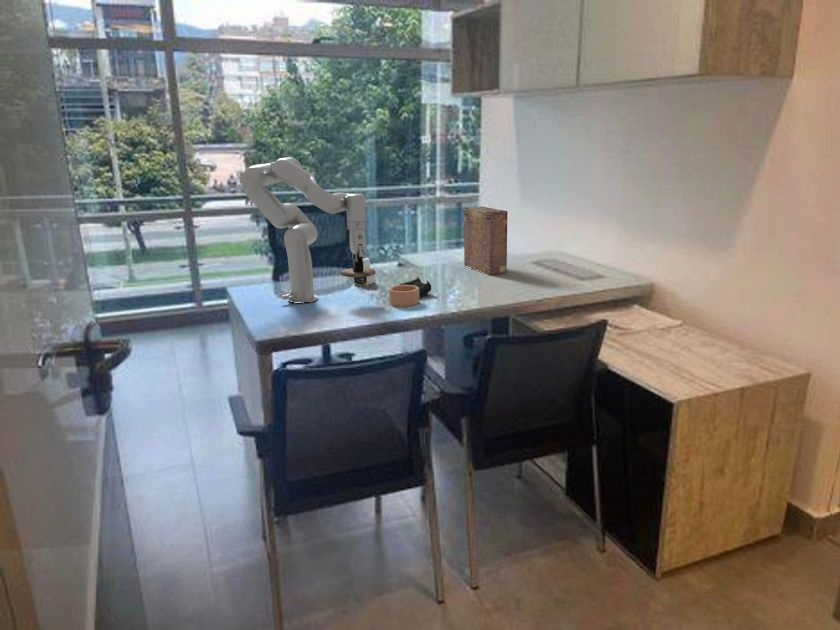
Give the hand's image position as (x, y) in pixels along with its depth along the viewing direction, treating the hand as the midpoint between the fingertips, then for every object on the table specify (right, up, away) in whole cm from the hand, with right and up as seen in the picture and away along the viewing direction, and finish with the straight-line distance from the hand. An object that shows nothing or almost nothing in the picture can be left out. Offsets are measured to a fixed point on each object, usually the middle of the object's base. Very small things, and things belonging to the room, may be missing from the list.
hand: (358, 269), depth 255 cm
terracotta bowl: (+19, -13, +1) cm, 23 cm away
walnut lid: (0, -1, 0) cm, 1 cm away
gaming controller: (+23, -10, +15) cm, 29 cm away
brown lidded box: (+57, +4, +57) cm, 81 cm away
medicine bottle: (-1, -4, +36) cm, 36 cm away
